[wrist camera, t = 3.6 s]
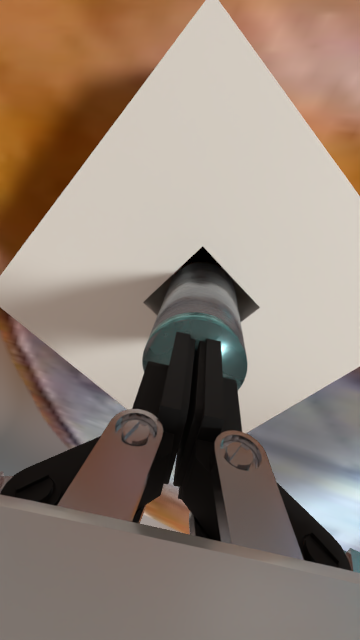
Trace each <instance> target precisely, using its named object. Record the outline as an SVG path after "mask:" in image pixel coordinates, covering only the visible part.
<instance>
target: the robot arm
mask: <svg viewBox="0 0 360 640" xmlns="http://www.w3.org/2000/svg"><path fill="white" fill-rule="evenodd" d="M190 337H191V335H190V334H186V333H181V332H176V336H175V341H174V345H173V350H172V354H171V359H170V363H169V365H165V364H161V363H156V362H152V361H148V363H147V366H146V369H145V372H144V375H143V378H142V381H141V384H140V386H139V389H138V392H137V395H136V398H135V401H134V404H133V407H132V409H128V410H125V411H122V412H120V413H118V414H116V415H115V416H114V418H113V419H112V420H111V421H110V423H109V424H108V426H107V428H106V429H105V431H104V432H103V434H102V435H101V436H100V437H98V438H95V439H93V440H91V441H88V442H86V443H84V444H81V445H79V446H77V447H74V448H72V449H70V450H67V451H65V452H63V453H61V454H58V455H56V456H54V457H51V458H49V459H47V460H44V461H42V462H40V463H37V464H35V465H33V466H30V467H28V468H26V469H24V470H22V471H20V472H19V473H17V474H16V475H14V476H4V474H3V472H0V640H360V552H358V551H356V550H353V549H351V548H350V549H349V550H348V551H344V550H343V549H342V547H341V546H340V545H339V543H338V542H337V541H336V540H335V539H334V538H333V536H332V535H331V534H330V533H329V532H327V531H326V530H325V529H324V528H323V527H322V526H321V525H320V524H319V523H318V522H317V521H316V520H315V519H314V518H313V517H312V516H311V515H310V514H309V513H308V512H307V511H306V510H305V509H304V508H303V507H302V506H301V505H300V504H299V503H298V502H296V501H295V500H294V499H293V498H292V497H291V496H290V495H289V494H288V493H287V492H286V491H285V490H284V489H283V488H282V487H281V486H280V485H279V484H278V483H277V482H276V480H275V477H274V474H273V472H272V469H271V466H270V463H269V460H268V457H267V455H266V452H265V451H264V449H263V447H262V446H261V445H260V443H259V442H258V441H257V440H255V439H254V438H253V437H251V436H250V435H248V434H246V433H243V432H242V425H241V416H240V407H239V399H238V390H237V383H236V380H233V379H229V378H224V377H223V369H222V349H221V341H217V340H213V339H208V338H206V340H205V342H204V341H200V342H199V345H198V349H197V353H196V356H195V360H194V351H195V341H196V340H195V339H191V338H190ZM193 361H194V364H193ZM176 455H177V458H176ZM175 458H176V466H175V474H174V483H173V485H174V486H178V487H179V495H178V499H182V501H183V502H184V503H185V505H186V506H187V507H188V509H189V510H190V514H189V528H190V535H189V534H184V533H179V532H175V531H170V530H166V529H161V528H157V527H152V526H148V525H143V524H140V521H141V519H142V516H143V513H144V510H145V506H146V504H148V503H149V502H151V501H152V500H154V499H155V498H157V497H158V496H160V495H161V491H162V487H163V484H168V483H169V480H170V476H171V472H172V469H173V465H174V462H175Z"/></svg>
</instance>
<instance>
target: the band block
mask: <svg viewBox="0 0 360 640" xmlns="http://www.w3.org/2000/svg"><path fill="white" fill-rule="evenodd" d="M202 246H203V247H204V248H205V249H206V250H207V251H208V252H209V253H210V255H211V256H212V257H213V258H214V259H215V260H216V261H217V262H218V263H219V264H220V265H221V266H222V267H223V268H224V270H225V271H226V272H227V273H228V274H229V275H230V276H231V277H232V281H233V283H234V287H235V292H236V298H237V304H238V310H239V316H240V321H241V327H242V333H243V339H244V345H245V350H246V356H247V364H248V365H247V374H246V377H245V380H244V382H243V384H242V386H241V387H240V388H239V390H238V399H239V407H240V416H241V425H242V432H243V433H248V432H249V431H251V430H253V429H254V428H256V427H258V426H259V425H261V424H263V423H265V422H266V421H268V420H270V419H271V418H273V417H275V416H276V415H278V414H280V413H282V412H283V411H285V410H287V409H288V408H290V407H292V406H293V405H295V404H297V403H299V402H300V401H302V400H304V399H305V398H307V397H309V396H310V395H312V394H314V393H315V392H317V391H319V390H321V389H322V388H324V387H326V386H327V385H329V384H331V383H332V382H334V381H336V380H338V379H339V378H341V377H343V376H344V375H346V374H348V373H349V372H351V371H353V370H355V369H356V368H358V367H360V196H359V195H358V193H357V192H356V191H355V189H354V188H353V186H352V185H351V184H350V182H349V181H348V179H347V178H346V177H345V175H344V174H343V172H342V171H341V170H340V168H339V167H338V166H337V164H336V163H335V161H334V160H333V159H332V157H331V156H330V154H329V153H328V152H327V150H326V149H325V148H324V146H323V145H322V143H321V142H320V141H319V139H318V138H317V136H316V135H315V134H314V132H313V131H312V129H311V128H310V127H309V125H308V124H307V123H306V121H305V120H304V118H303V117H302V116H301V114H300V113H299V111H298V110H297V109H296V107H295V106H294V104H293V103H292V102H291V100H290V99H289V98H288V96H287V95H286V93H285V92H284V91H283V89H282V88H281V86H280V85H279V84H278V82H277V81H276V79H275V78H274V77H273V75H272V74H271V73H270V71H269V70H268V68H267V67H266V66H265V64H264V63H263V61H262V60H261V59H260V57H259V56H258V55H257V53H256V52H255V50H254V49H253V48H252V46H251V45H250V43H249V42H248V41H247V39H246V38H245V36H244V35H243V34H242V32H241V31H240V30H239V28H238V27H237V25H236V24H235V23H234V21H233V20H232V18H231V17H230V16H229V14H228V13H227V11H226V10H225V9H224V7H223V6H222V5H221V3H220V2H219V0H206V1H205V2H204V3H203V5H202V6H201V7H200V9H199V10H198V11H197V13H196V14H195V15H194V17H193V18H192V19H191V21H190V22H189V23H188V25H187V26H186V27H185V29H184V30H183V32H182V33H181V34H180V36H179V37H178V38H177V40H176V41H175V42H174V44H173V45H172V46H171V48H170V49H169V50H168V52H167V53H166V54H165V56H164V57H163V58H162V60H161V61H160V62H159V64H158V65H157V66H156V68H155V69H154V70H153V72H152V73H151V74H150V76H149V77H148V78H147V80H146V81H145V82H144V84H143V85H142V86H141V88H140V89H139V90H138V92H137V93H136V94H135V96H134V97H133V98H132V100H131V101H130V103H129V104H128V105H127V107H126V108H125V109H124V111H123V112H122V113H121V115H120V116H119V117H118V119H117V120H116V121H115V123H114V124H113V125H112V127H111V128H110V129H109V131H108V132H107V133H106V135H105V136H104V137H103V139H102V140H101V141H100V143H99V144H98V145H97V147H96V148H95V149H94V151H93V152H92V153H91V155H90V156H89V157H88V159H87V160H86V161H85V163H84V164H83V165H82V167H81V168H80V169H79V171H78V172H77V174H76V175H75V176H74V178H73V179H72V180H71V182H70V183H69V184H68V186H67V187H66V188H65V190H64V191H63V192H62V194H61V195H60V196H59V198H58V199H57V200H56V202H55V203H54V204H53V206H52V207H51V208H50V210H49V211H48V212H47V214H46V215H45V216H44V218H43V219H42V220H41V222H40V223H39V224H38V226H37V227H36V228H35V230H34V231H33V232H32V234H31V235H30V236H29V238H28V239H27V240H26V242H25V243H24V245H23V246H22V247H21V249H20V250H19V251H18V253H17V254H16V255H15V257H14V258H13V259H12V261H11V262H10V263H9V265H8V266H7V267H6V269H5V270H4V271H3V273H2V274H1V275H0V307H1V308H2V309H3V310H4V311H6V312H7V313H8V314H9V315H11V316H12V317H13V318H14V319H15V320H17V321H18V322H19V323H20V324H22V325H23V326H24V327H25V328H27V329H28V330H29V331H30V332H32V333H33V334H34V335H35V336H37V337H38V338H39V339H40V340H42V341H43V342H44V343H45V344H47V345H48V346H49V347H50V348H51V349H53V350H54V351H55V352H56V353H58V354H59V355H60V356H61V357H63V358H64V359H65V360H66V361H68V362H69V363H70V364H71V365H73V366H74V367H75V368H76V369H78V370H79V371H80V372H81V373H83V374H84V375H85V376H86V377H88V378H89V379H90V380H91V381H92V382H94V383H95V384H96V385H97V386H99V387H100V388H101V389H102V390H104V391H105V392H106V393H107V394H109V395H110V396H111V397H112V398H114V399H115V400H116V401H117V402H119V403H120V404H121V405H122V406H124V407H125V408H126V409H127V410H128V409H132V407H133V404H134V401H135V398H136V395H137V392H138V389H139V386H140V384H141V381H142V378H143V375H144V370H143V365H142V357H143V352H144V349H145V346H146V344H147V341H148V339H149V336H150V333H151V331H152V328H153V326H154V323H155V321H156V318H157V316H158V313H159V311H160V308H161V306H162V303H163V300H164V298H165V295H166V293H167V290H168V288H169V285H170V283H171V280H172V278H173V277H174V273H175V272H176V271H177V270H178V269H179V268H180V267H181V266H182V265H183V264H184V263H185V262H186V261H187V260H189V259H190V258H191V257H192V256H193V255H194V254H195V253H196V252H197V251H198V250H199V249H200V248H201V247H202Z"/></svg>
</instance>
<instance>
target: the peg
mask: <svg viewBox="0 0 360 640" xmlns="http://www.w3.org/2000/svg"><path fill="white" fill-rule="evenodd" d="M176 332H181V333H186V334H190V335H191V337H190V338H191V339H195V340H196V341H195V351H194V360H195V356H196V353H197V349H198V345H199V342H200V341H204V342H205V340H206V338H208V339H213V340H217V341H221V349H222V369H223V377H224V378H229V379H233V380H236V383H237V390H239V388H240V387H241V386H242V384H243V382H244V380H245V377H246V374H247V365H248V364H247V356H246V350H245V345H244V339H243V333H242V327H241V321H240V316H239V310H238V304H237V298H236V292H235V287H234V283H233V281H232V279H231V277H230V276H229V275H228V273H227V272H226V271H225V270H223V269H222V268H221V267H219V266H217V265H215V264H212V263H208V262H196V263H192V264H189V265H186V266H184V267H183V268H181V269H180V270H179V271H178V272H177V273H176V274H175V275H174V277H173V278H172V280H171V283H170V285H169V288H168V290H167V293H166V295H165V298H164V300H163V303H162V306H161V308H160V311H159V313H158V316H157V318H156V321H155V323H154V326H153V328H152V331H151V333H150V336H149V339H148V341H147V344H146V346H145V349H144V352H143V357H142V365H143V370H144V372H145V369H146V366H147V363H148V361H152V362H156V363H161V364H165V365H169V363H170V359H171V354H172V350H173V345H174V341H175V336H176ZM193 364H194V361H193Z"/></svg>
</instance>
